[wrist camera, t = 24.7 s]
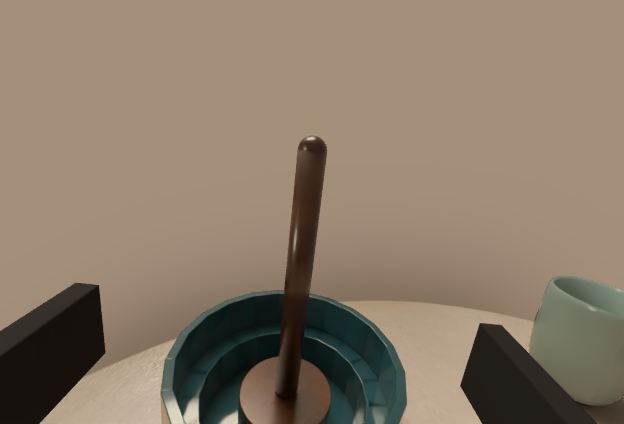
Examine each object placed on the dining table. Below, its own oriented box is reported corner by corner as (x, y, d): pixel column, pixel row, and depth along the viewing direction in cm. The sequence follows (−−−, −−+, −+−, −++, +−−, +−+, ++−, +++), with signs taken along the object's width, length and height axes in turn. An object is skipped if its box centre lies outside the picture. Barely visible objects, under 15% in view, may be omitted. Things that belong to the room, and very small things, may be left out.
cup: (637, 407, 27) (686, 315, 24) (595, 434, 24) (646, 332, 21) (545, 348, 34) (576, 271, 31) (503, 363, 30) (533, 279, 28)
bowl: (101, 512, 16) (89, 414, 14) (239, 336, 30) (242, 276, 28) (381, 657, 12) (415, 552, 11) (387, 380, 27) (402, 315, 25)
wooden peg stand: (233, 478, 17) (251, 129, 12) (240, 387, 23) (254, 128, 18) (335, 467, 19) (395, 145, 13) (317, 383, 25) (352, 139, 19)
